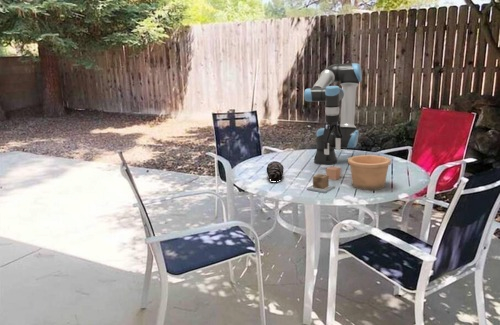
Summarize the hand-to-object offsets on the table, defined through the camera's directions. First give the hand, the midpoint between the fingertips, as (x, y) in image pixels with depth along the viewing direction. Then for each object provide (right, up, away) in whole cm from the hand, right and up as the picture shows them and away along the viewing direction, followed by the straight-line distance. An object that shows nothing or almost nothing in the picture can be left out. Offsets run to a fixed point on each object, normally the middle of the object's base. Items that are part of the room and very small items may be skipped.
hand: (332, 151), depth 231 cm
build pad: (-9, -20, -14) cm, 26 cm away
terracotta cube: (+2, -15, +5) cm, 16 cm away
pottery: (+17, -19, -11) cm, 28 cm away
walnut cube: (-9, -19, -14) cm, 25 cm away
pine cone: (-31, -16, +8) cm, 36 cm away
